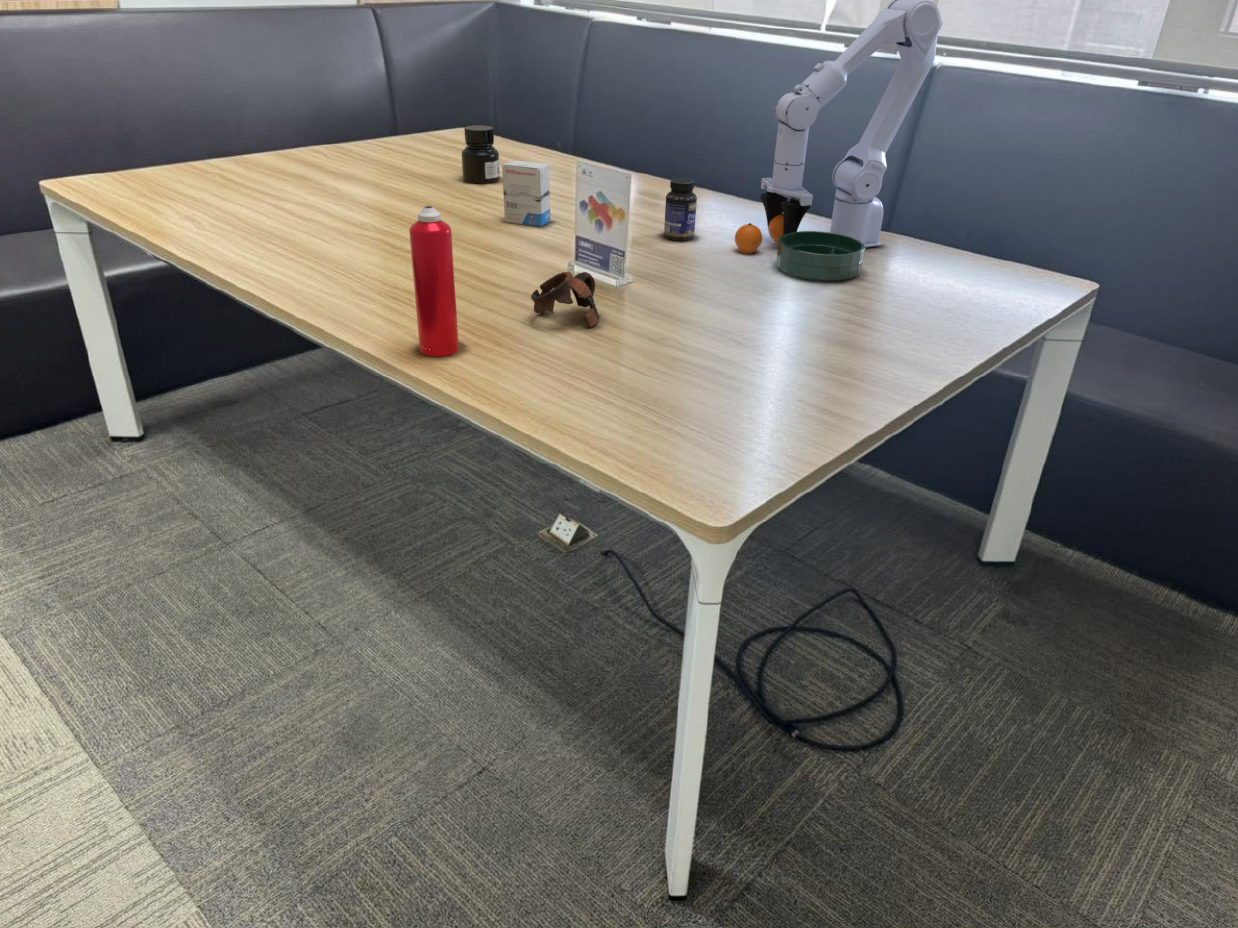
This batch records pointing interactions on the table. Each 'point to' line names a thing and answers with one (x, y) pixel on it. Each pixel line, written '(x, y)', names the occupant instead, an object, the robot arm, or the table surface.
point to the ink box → (526, 193)
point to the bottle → (434, 284)
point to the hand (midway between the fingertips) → (781, 234)
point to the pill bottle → (680, 210)
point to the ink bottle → (480, 155)
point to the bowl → (820, 255)
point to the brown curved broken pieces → (567, 294)
